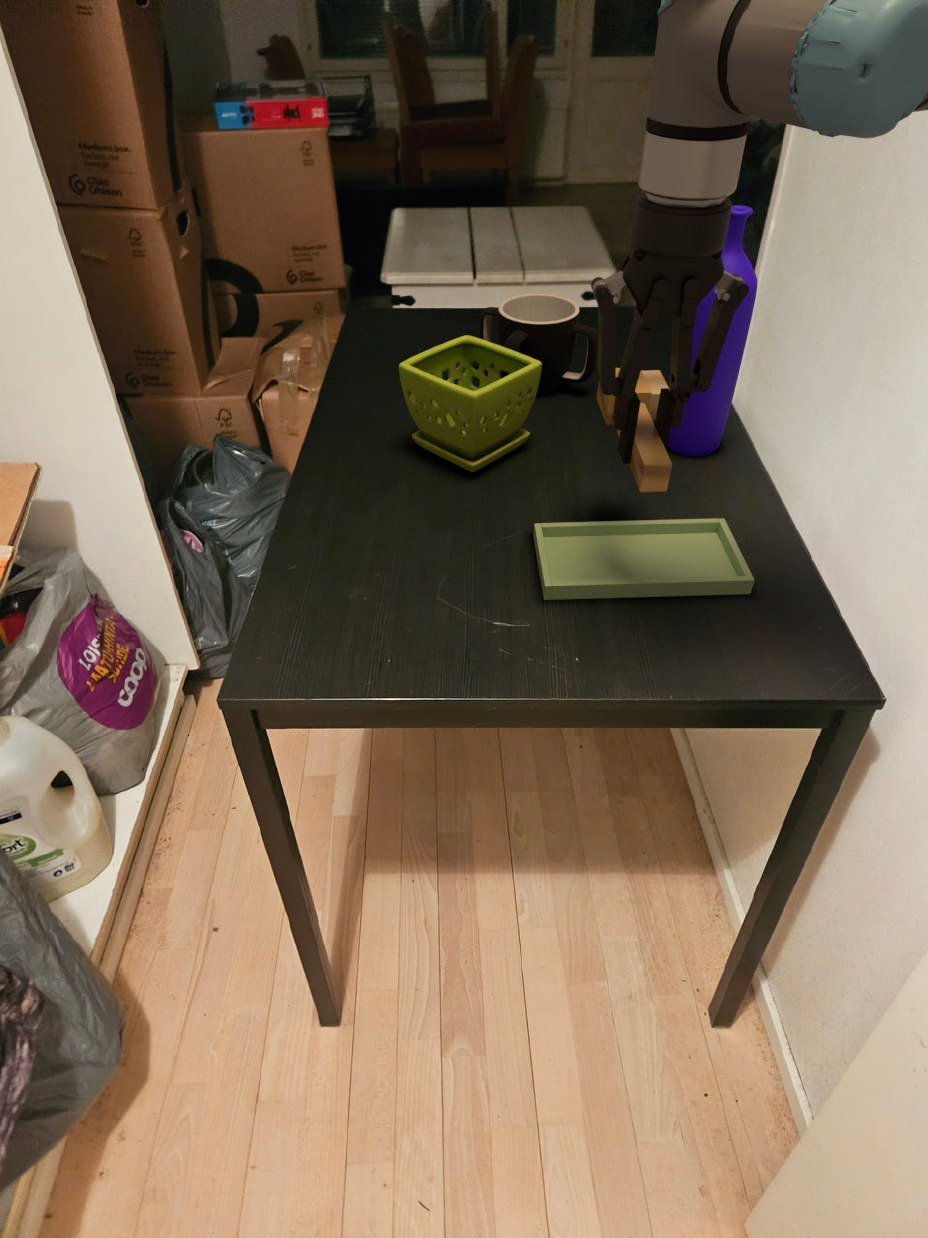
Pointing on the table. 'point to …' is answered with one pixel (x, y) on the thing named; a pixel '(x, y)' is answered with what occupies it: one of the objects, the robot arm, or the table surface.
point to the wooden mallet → (644, 433)
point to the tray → (639, 559)
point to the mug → (543, 335)
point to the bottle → (712, 406)
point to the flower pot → (470, 400)
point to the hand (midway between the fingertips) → (640, 455)
